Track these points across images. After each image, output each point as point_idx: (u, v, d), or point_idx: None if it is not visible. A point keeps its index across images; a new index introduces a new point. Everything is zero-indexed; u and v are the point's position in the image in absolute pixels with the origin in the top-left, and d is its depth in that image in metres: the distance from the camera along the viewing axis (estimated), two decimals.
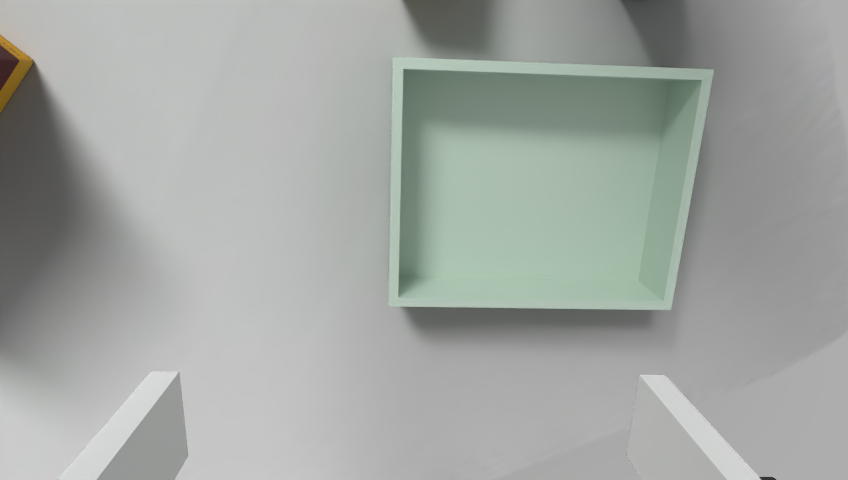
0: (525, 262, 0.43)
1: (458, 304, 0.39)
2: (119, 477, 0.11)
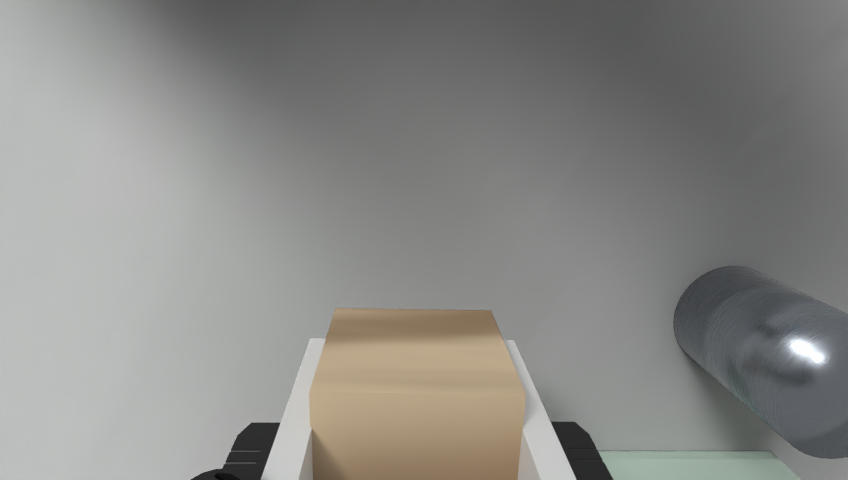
0: None
1: None
2: None
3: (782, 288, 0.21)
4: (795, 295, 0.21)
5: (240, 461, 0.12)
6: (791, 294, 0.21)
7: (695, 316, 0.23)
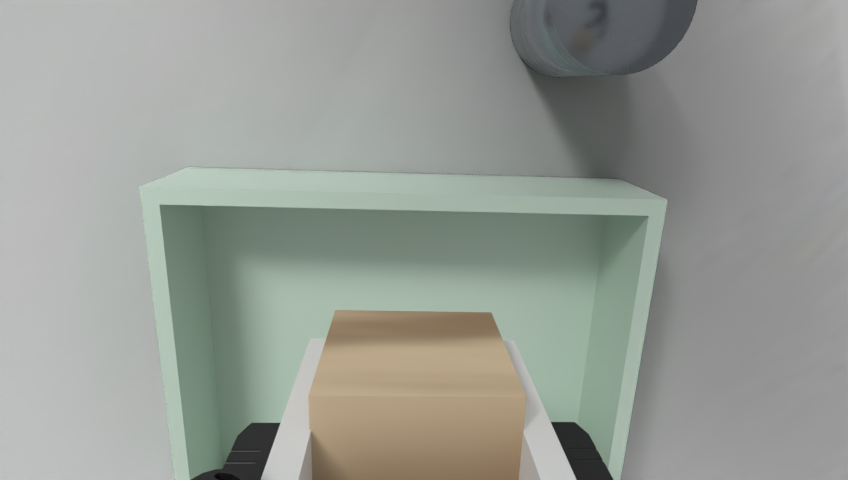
0: None
1: None
2: None
3: None
4: None
5: (240, 461, 0.12)
6: None
7: None
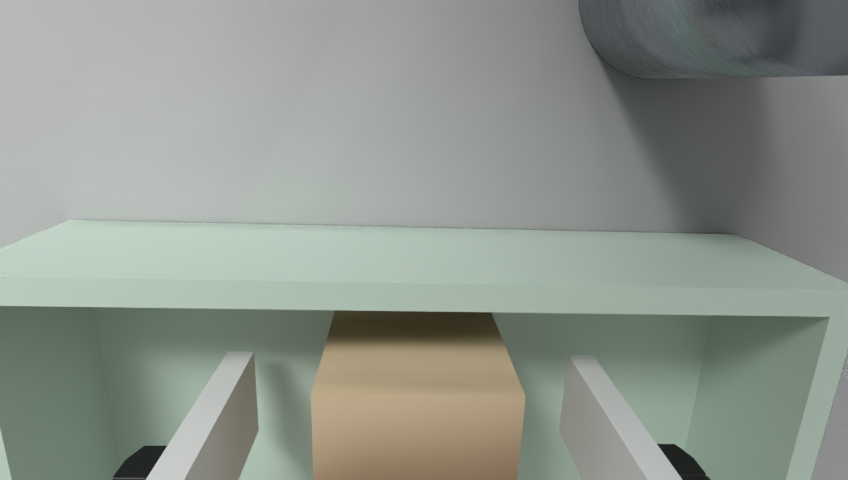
0: None
1: None
2: (217, 442, 0.13)
3: None
4: None
5: None
6: None
7: None
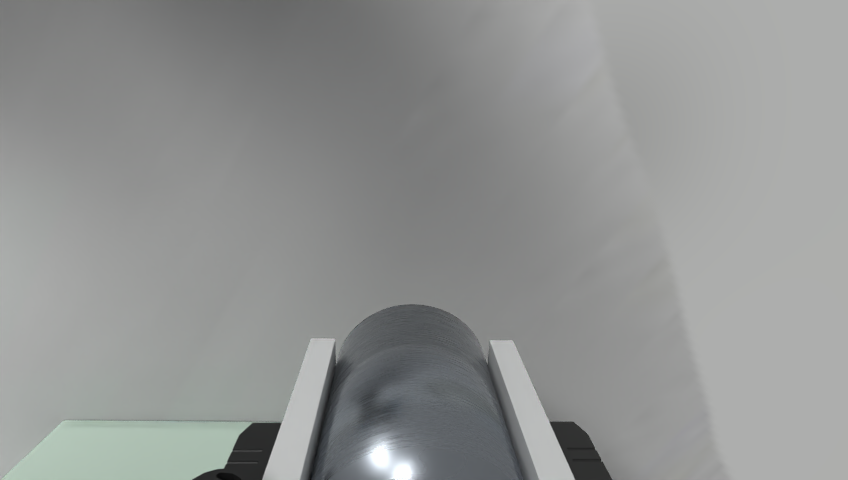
0: None
1: None
2: (320, 419, 0.13)
3: (416, 349, 0.14)
4: (414, 364, 0.13)
5: (241, 461, 0.12)
6: (411, 362, 0.13)
7: None
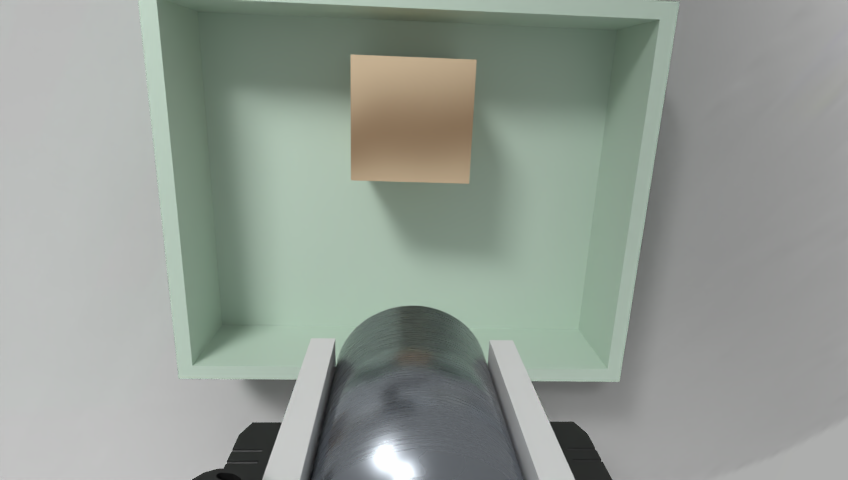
0: (411, 304, 0.29)
1: (288, 375, 0.25)
2: (320, 419, 0.14)
3: (416, 350, 0.14)
4: (414, 366, 0.13)
5: (242, 461, 0.12)
6: (411, 364, 0.13)
7: None
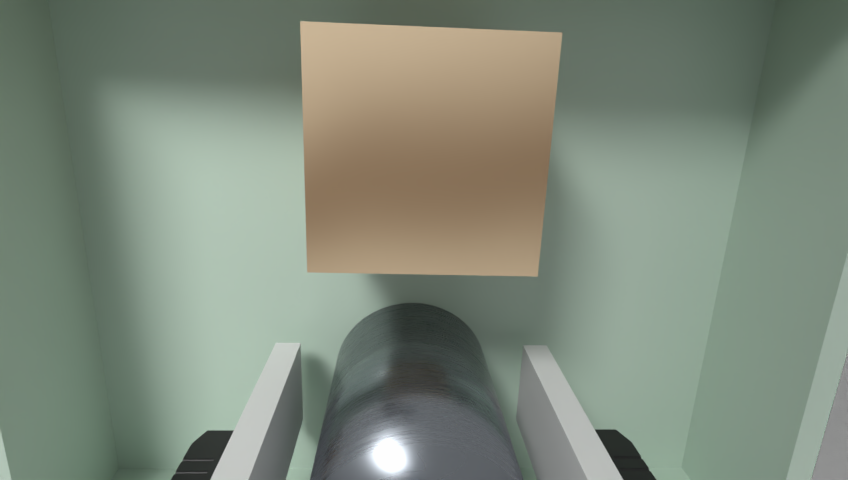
0: None
1: None
2: (277, 427, 0.13)
3: (416, 347, 0.14)
4: (414, 363, 0.13)
5: (191, 471, 0.12)
6: (411, 360, 0.13)
7: (332, 381, 0.16)
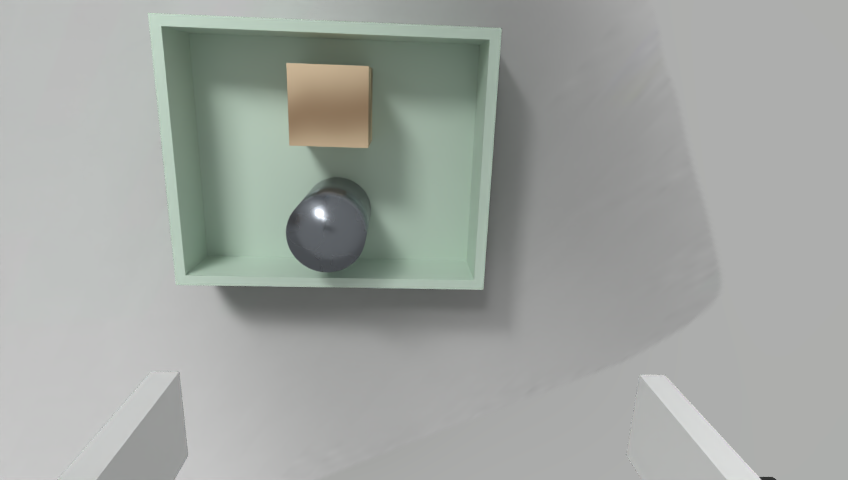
0: None
1: (251, 283, 0.37)
2: (119, 477, 0.11)
3: (332, 184, 0.36)
4: (330, 186, 0.36)
5: None
6: (329, 186, 0.36)
7: None
